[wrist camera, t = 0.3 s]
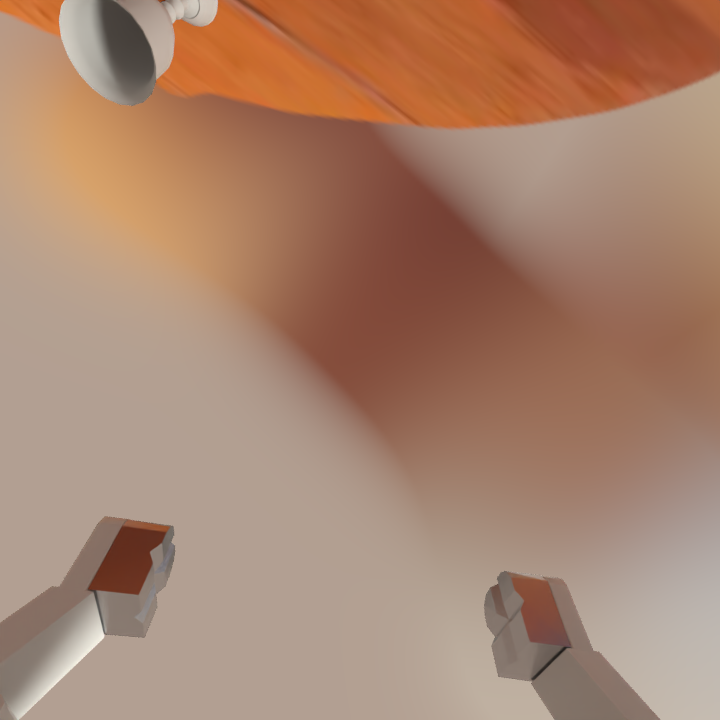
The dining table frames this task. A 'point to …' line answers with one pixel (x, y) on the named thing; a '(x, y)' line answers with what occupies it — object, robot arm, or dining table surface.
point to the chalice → (126, 41)
